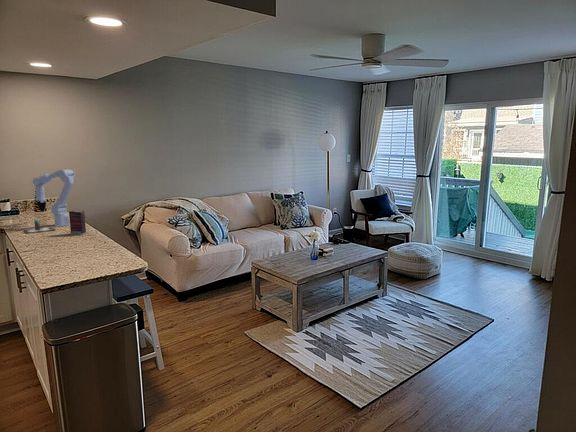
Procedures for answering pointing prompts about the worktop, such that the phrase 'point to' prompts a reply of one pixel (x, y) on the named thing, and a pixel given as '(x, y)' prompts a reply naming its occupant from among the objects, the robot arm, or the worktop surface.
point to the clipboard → (39, 230)
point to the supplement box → (77, 222)
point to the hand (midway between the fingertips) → (41, 210)
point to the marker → (37, 224)
